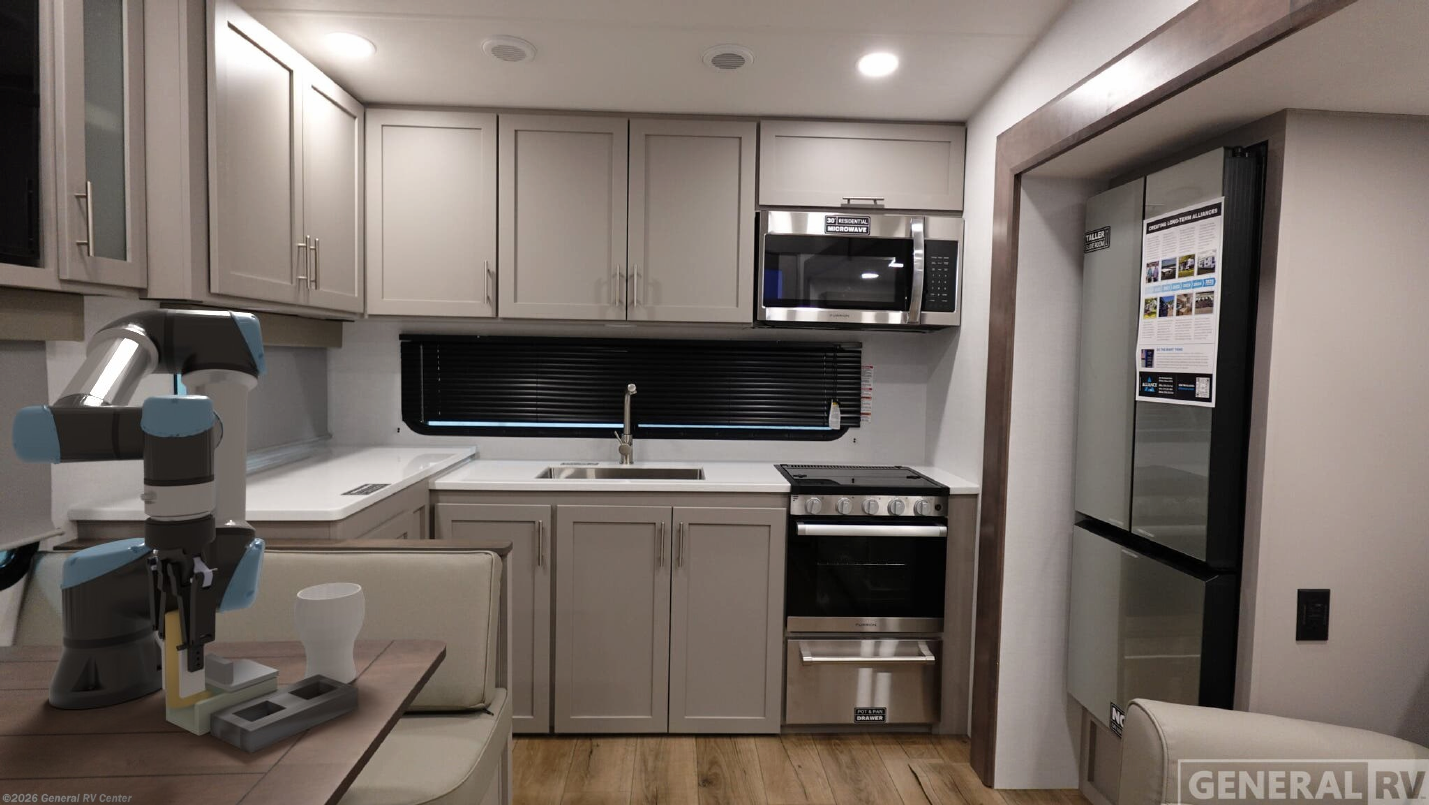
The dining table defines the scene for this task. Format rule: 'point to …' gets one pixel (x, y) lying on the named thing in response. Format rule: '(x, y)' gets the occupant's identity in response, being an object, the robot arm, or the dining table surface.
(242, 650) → the dining table surface
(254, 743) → the peg board
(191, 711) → the pale green box tray
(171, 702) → the peg
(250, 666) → the lid
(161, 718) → the dining table surface
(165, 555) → the robot arm
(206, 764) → the dining table surface
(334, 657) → the cup
